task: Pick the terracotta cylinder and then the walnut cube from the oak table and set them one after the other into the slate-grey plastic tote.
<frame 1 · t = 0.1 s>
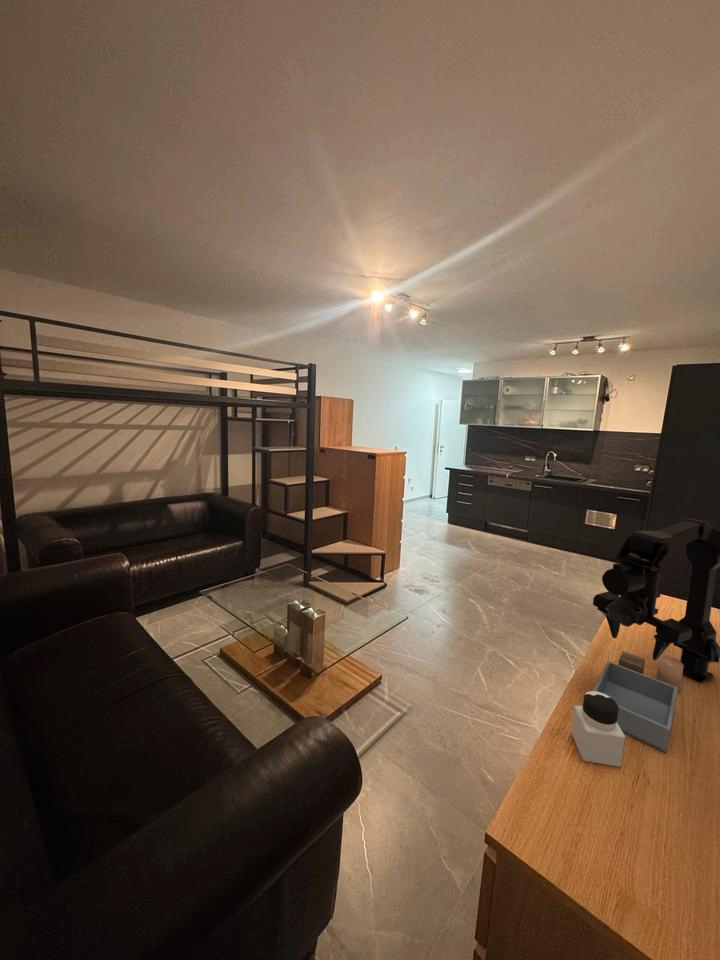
hand: (633, 648, 90), 15 cm above the sideboard top, fingers open, 9 cm apart
tote: (632, 711, 89), on the sideboard top
walnut cube: (629, 675, 102), on the sideboard top
terracotta cylinder: (667, 686, 98), on the sideboard top
medicine bottle: (594, 750, 79), on the sideboard top
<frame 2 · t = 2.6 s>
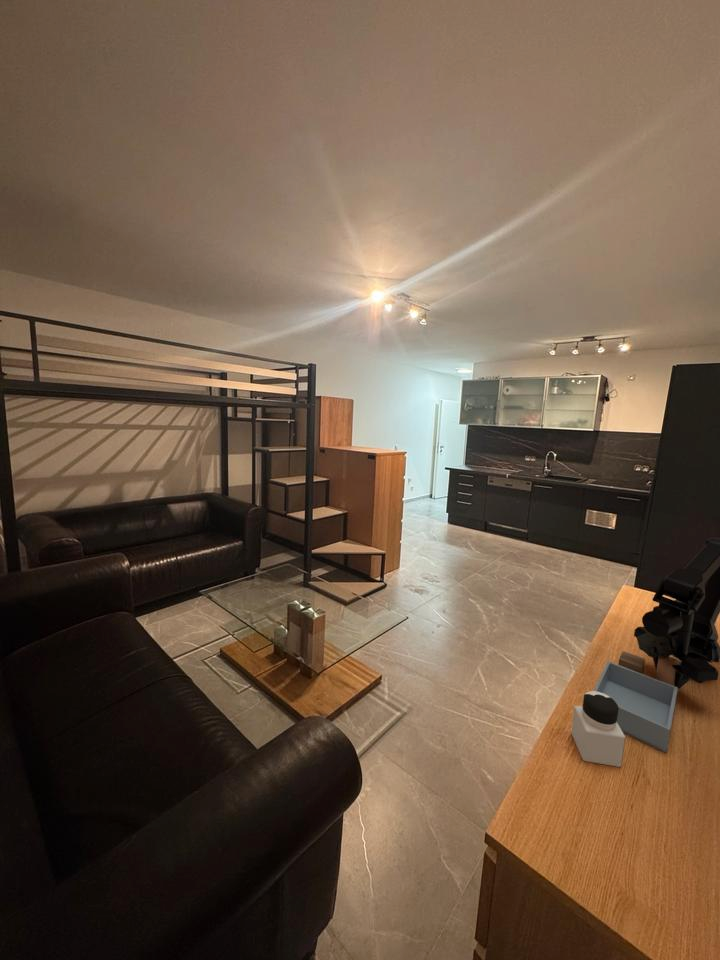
hand: (667, 680, 97), 2 cm above the sideboard top, fingers closed on terracotta cylinder, 5 cm apart
terracotta cylinder: (667, 686, 98), on the sideboard top, touching gripper
everything else where it was.
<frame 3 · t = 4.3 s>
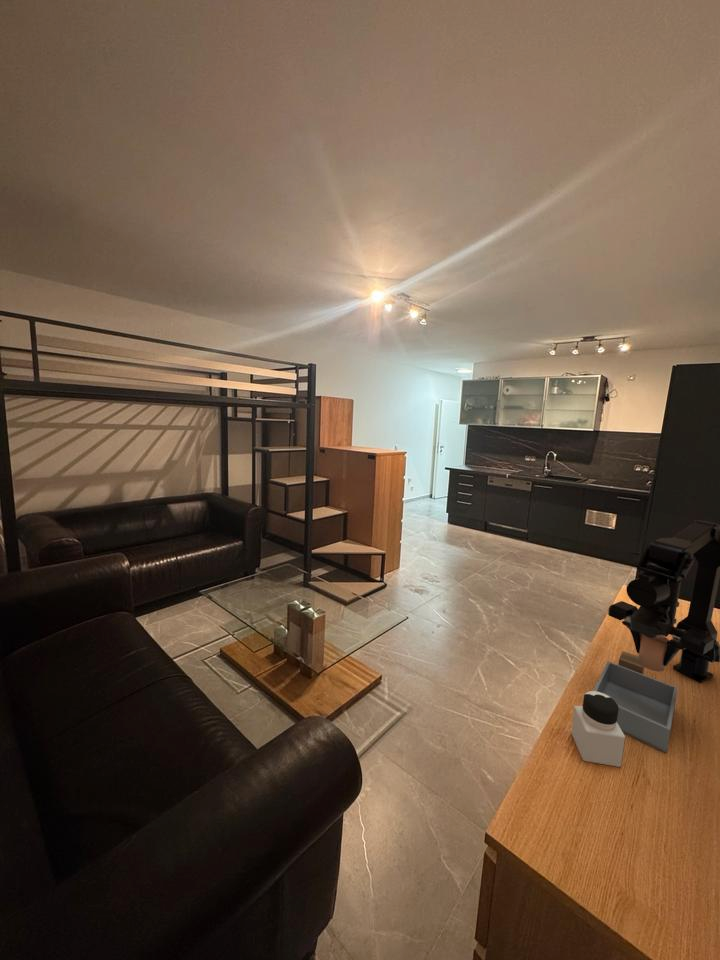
hand: (651, 658, 88), 13 cm above the sideboard top, fingers closed on terracotta cylinder, 5 cm apart
terracotta cylinder: (650, 664, 89), point 11 cm above the sideboard top, touching gripper
everything else where it was.
when the fingers open (4 cm above the sideboard top, at t = 6.4 s): terracotta cylinder drops 2 cm, resting on tote.
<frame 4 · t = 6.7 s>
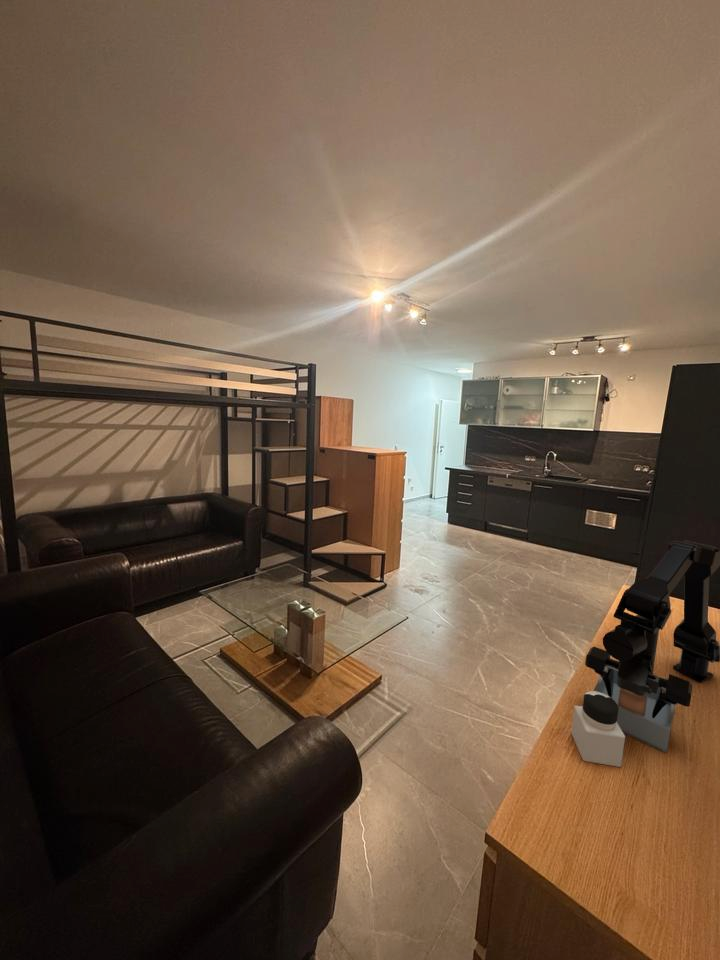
hand: (631, 707, 85), 4 cm above the sideboard top, fingers open, 8 cm apart
terracotta cylinder: (629, 720, 86), point 1 cm above the sideboard top, touching tote
everything else where it was.
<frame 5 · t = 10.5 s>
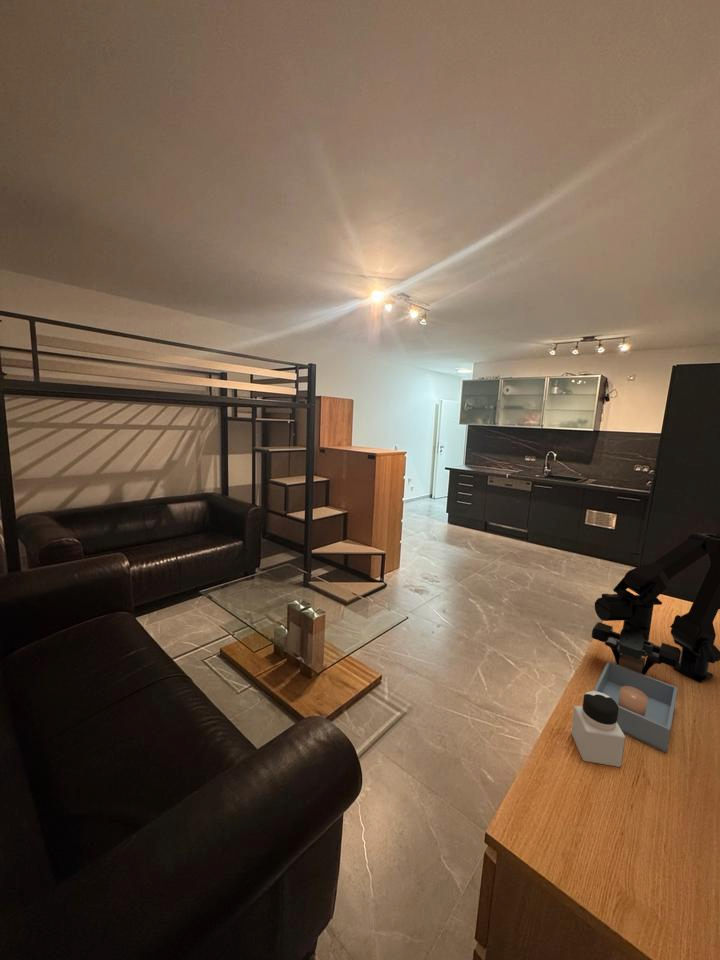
hand: (630, 671, 102), 1 cm above the sideboard top, fingers closed on walnut cube, 5 cm apart
walnut cube: (629, 675, 102), on the sideboard top, touching gripper
everything else where it was.
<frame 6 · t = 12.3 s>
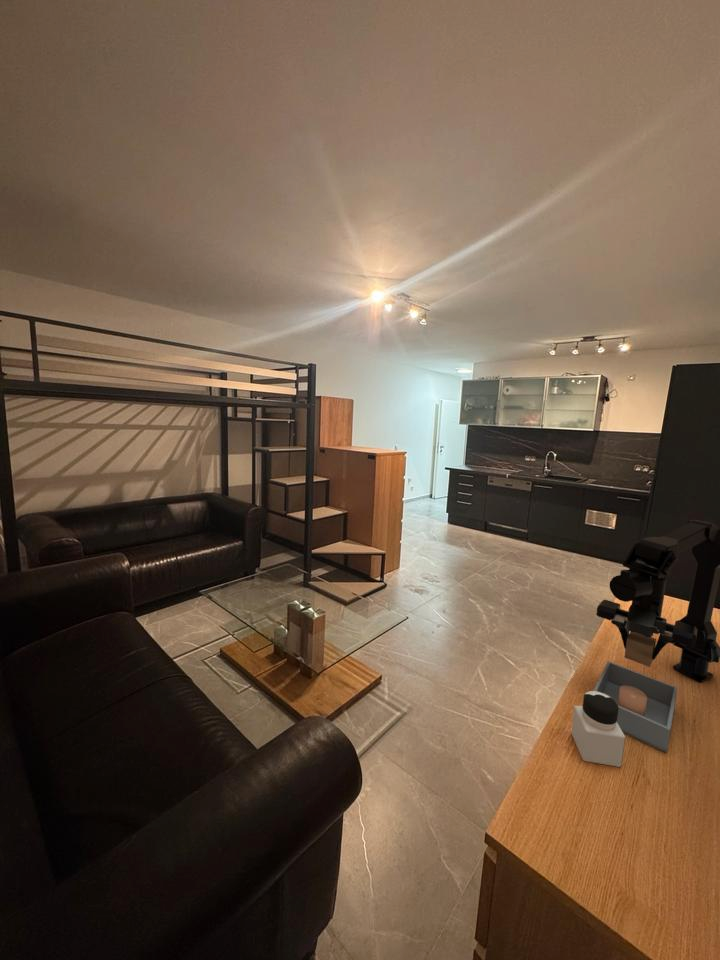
hand: (639, 653, 91), 12 cm above the sideboard top, fingers closed on walnut cube, 5 cm apart
walnut cube: (638, 657, 91), point 11 cm above the sideboard top, touching gripper
everything else where it was.
when the fingers open (3 cm above the sideboard top, at t = 14.1 s): walnut cube drops 2 cm, resting on tote.
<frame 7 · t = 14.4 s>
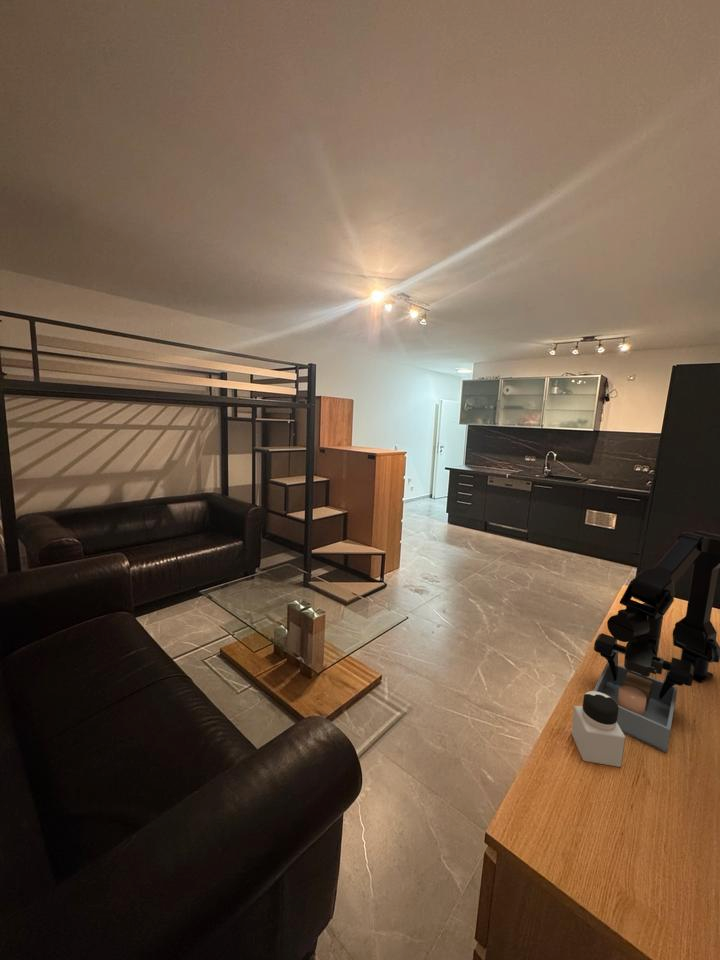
hand: (637, 688, 92), 3 cm above the sideboard top, fingers open, 9 cm apart
walnut cube: (635, 699, 92), resting on tote
everything else where it was.
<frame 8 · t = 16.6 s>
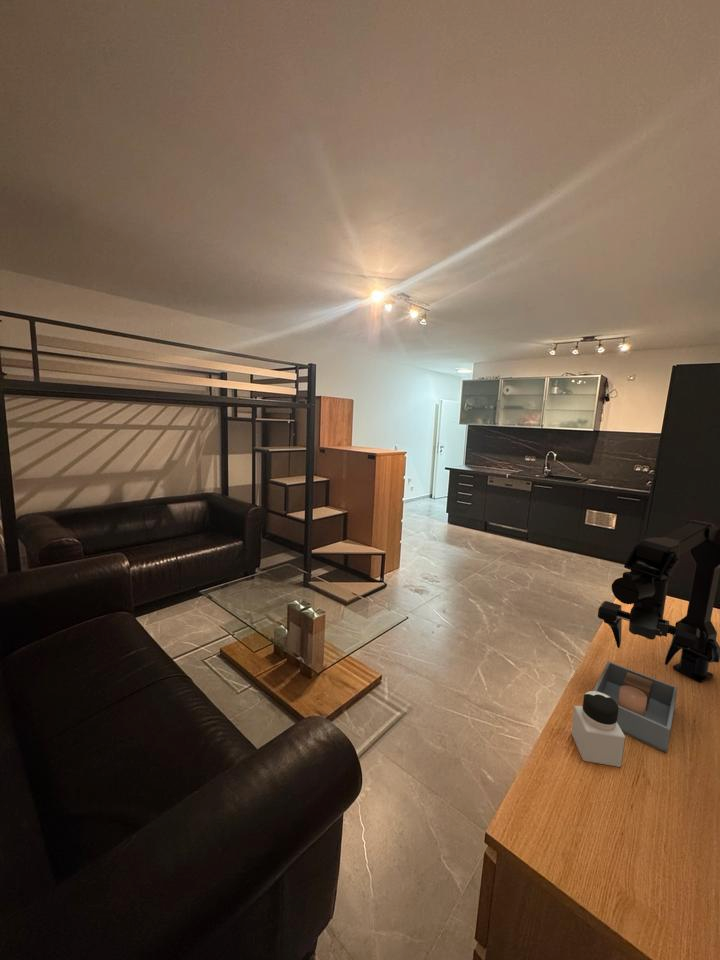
hand: (641, 655, 90), 12 cm above the sideboard top, fingers open, 9 cm apart
nothing on the sideboard top moved.
at the end: terracotta cylinder inside the target area on the tote (4.5 cm from its centre), point 0.6 cm above the tote's base; walnut cube inside the target area on the tote (4.5 cm from its centre), point 0.5 cm above the tote's base; the gripper is holding nothing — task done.
